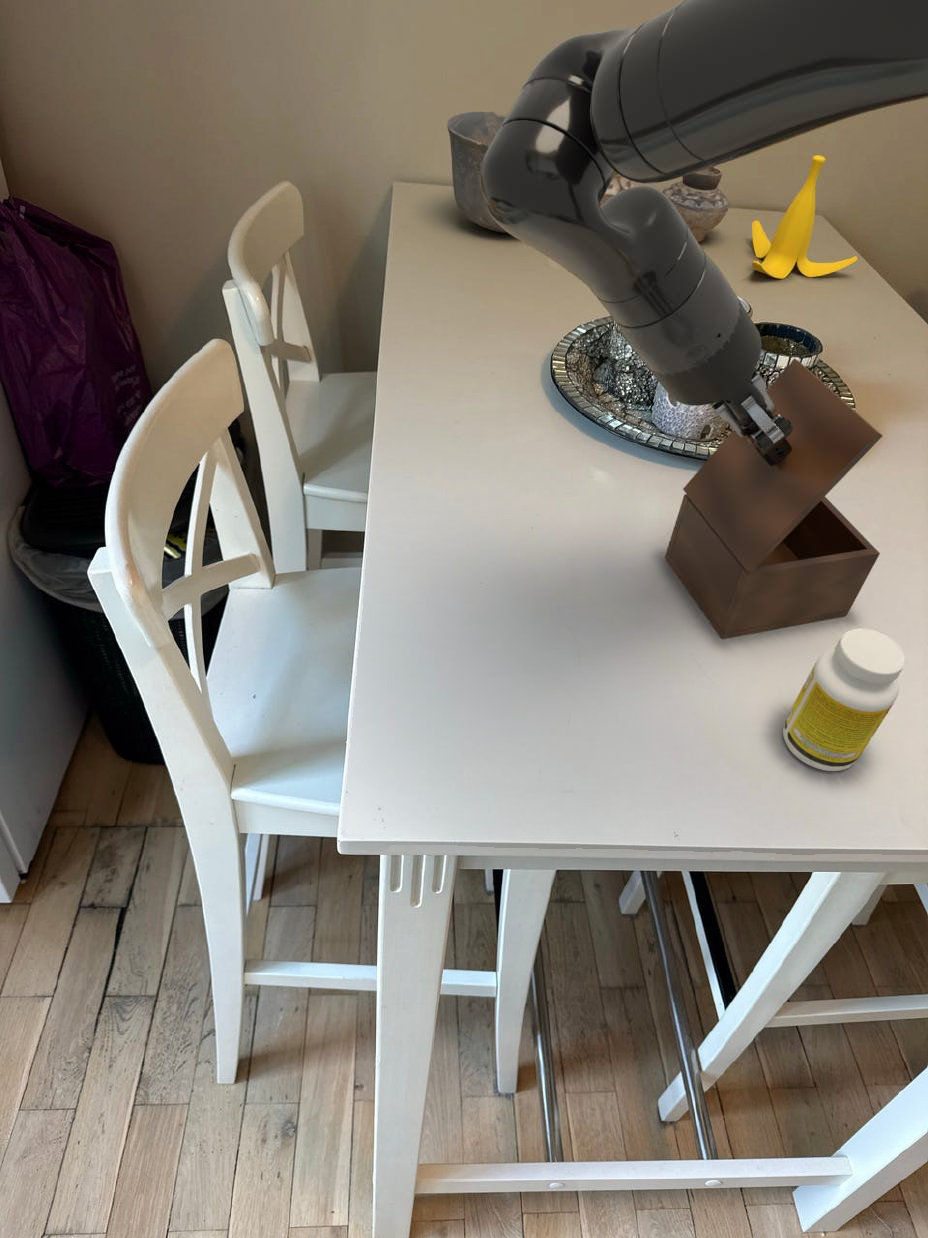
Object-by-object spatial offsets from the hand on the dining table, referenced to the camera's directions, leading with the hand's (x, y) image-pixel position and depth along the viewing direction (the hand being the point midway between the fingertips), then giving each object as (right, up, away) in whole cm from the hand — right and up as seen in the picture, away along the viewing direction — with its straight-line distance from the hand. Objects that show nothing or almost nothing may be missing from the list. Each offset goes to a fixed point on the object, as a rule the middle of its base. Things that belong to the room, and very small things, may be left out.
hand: (777, 453), depth 74 cm
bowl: (-21, +51, +72) cm, 91 cm away
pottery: (+5, +52, +76) cm, 93 cm away
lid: (0, -1, +1) cm, 1 cm away
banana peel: (+24, +42, +69) cm, 84 cm away
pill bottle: (+3, -24, -2) cm, 24 cm away
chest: (+2, -11, +12) cm, 16 cm away
